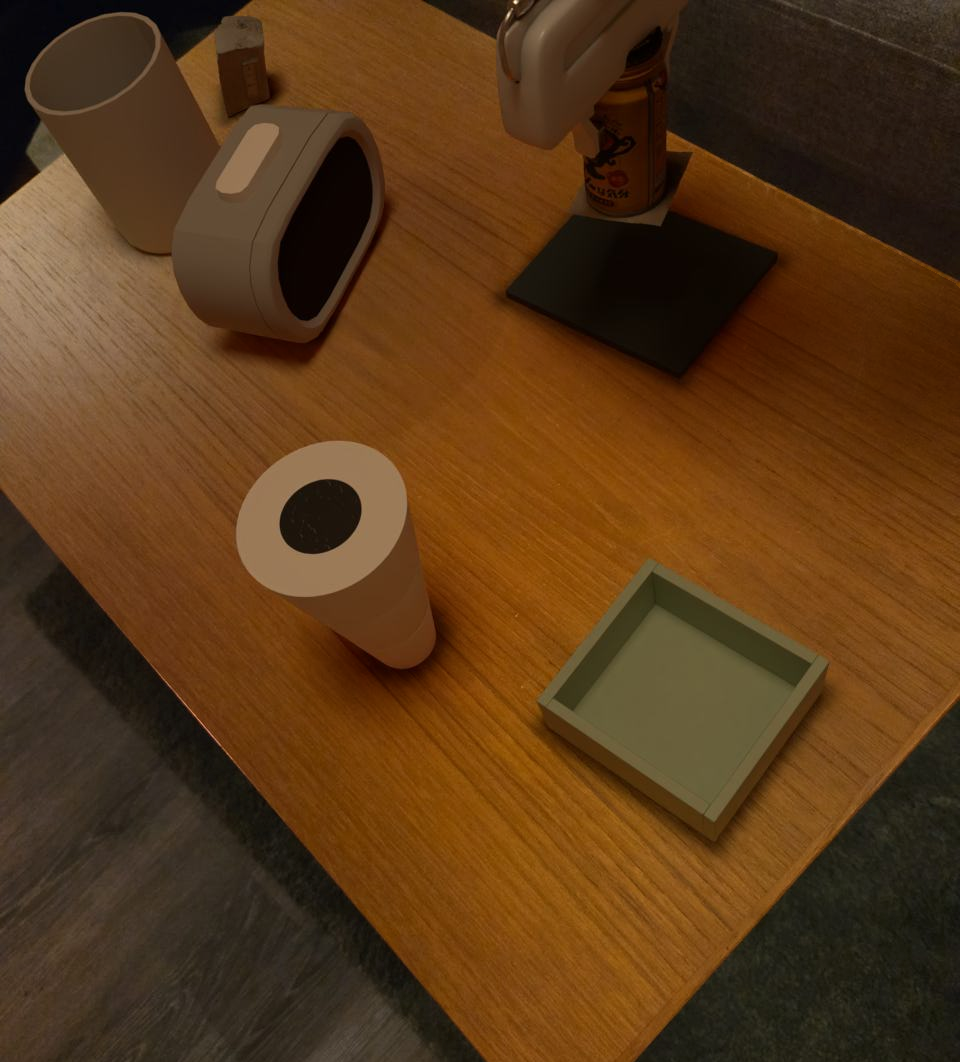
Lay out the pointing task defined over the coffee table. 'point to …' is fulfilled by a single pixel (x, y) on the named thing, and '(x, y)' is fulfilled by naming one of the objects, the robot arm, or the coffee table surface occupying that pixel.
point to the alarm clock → (280, 222)
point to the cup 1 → (124, 122)
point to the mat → (643, 284)
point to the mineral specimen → (241, 62)
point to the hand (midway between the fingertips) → (623, 114)
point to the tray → (683, 696)
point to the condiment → (633, 145)
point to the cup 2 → (341, 547)
